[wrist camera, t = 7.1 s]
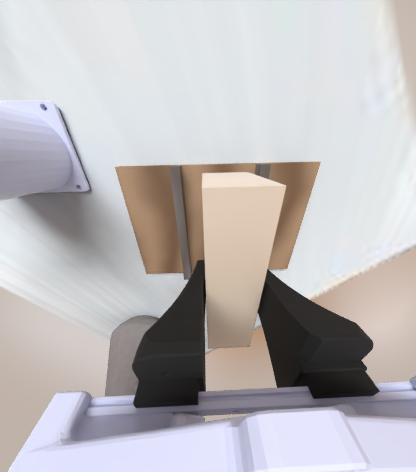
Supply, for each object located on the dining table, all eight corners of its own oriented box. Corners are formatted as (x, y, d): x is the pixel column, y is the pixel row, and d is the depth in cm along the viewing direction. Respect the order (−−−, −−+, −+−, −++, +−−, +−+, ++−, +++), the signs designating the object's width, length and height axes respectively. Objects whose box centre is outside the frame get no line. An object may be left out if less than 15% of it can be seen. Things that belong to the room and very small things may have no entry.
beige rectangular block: (206, 290, 17) (208, 348, 12) (202, 173, 11) (201, 187, 6) (235, 289, 18) (249, 346, 12) (247, 172, 11) (286, 185, 6)
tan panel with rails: (148, 269, 23) (143, 281, 21) (119, 166, 16) (106, 168, 14) (284, 264, 24) (292, 275, 22) (314, 161, 17) (331, 162, 14)
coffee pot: (152, 346, 35) (121, 460, 22) (107, 326, 31) (36, 454, 17) (220, 305, 28) (235, 434, 15) (176, 273, 24) (144, 414, 11)
